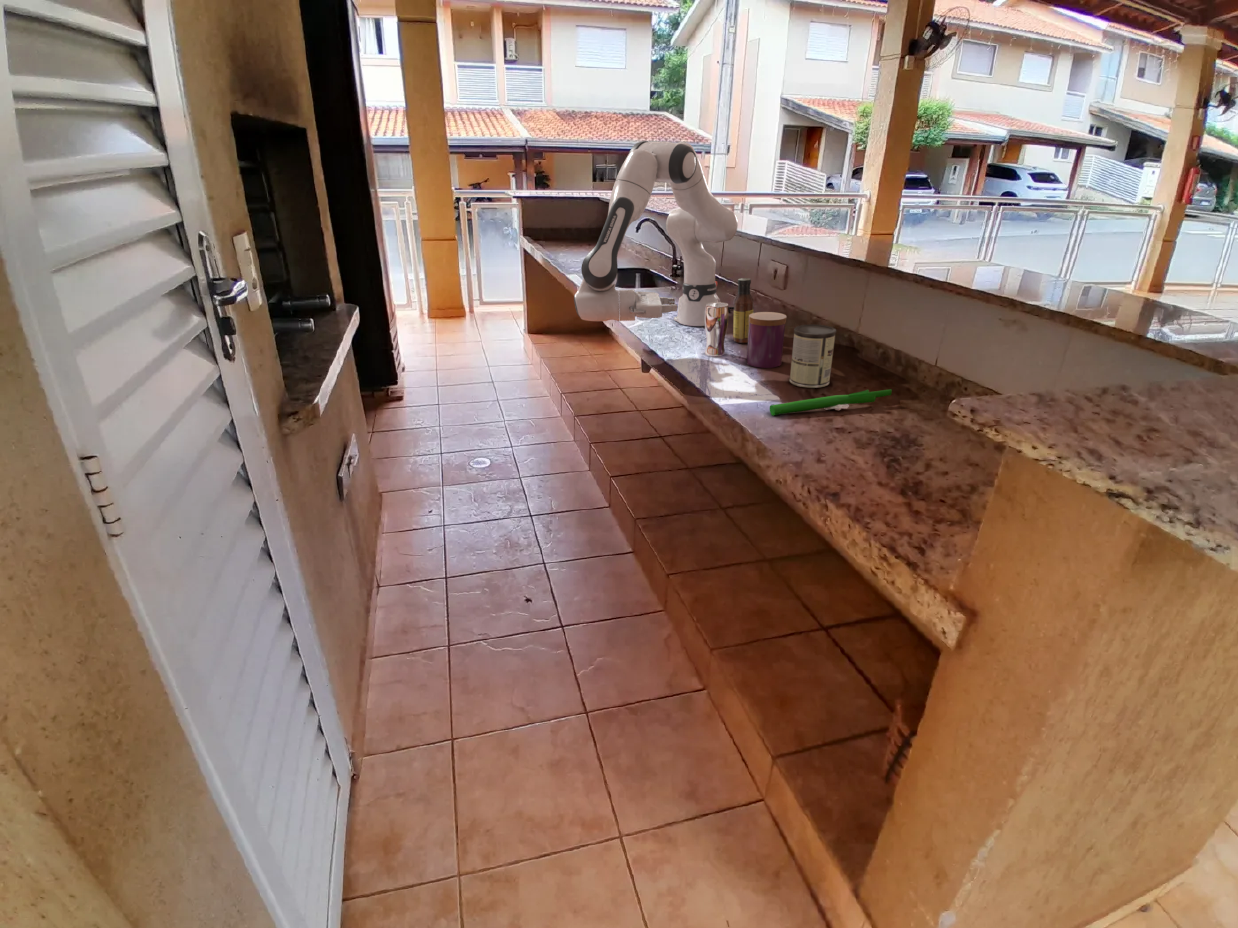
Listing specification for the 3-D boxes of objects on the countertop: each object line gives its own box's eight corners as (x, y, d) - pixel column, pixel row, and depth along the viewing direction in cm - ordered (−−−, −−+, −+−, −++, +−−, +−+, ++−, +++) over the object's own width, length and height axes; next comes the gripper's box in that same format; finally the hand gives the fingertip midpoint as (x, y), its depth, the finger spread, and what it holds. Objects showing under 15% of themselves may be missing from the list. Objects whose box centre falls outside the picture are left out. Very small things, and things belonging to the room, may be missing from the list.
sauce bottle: (751, 339, 203) (755, 277, 194) (753, 344, 197) (757, 280, 189) (731, 339, 204) (734, 277, 195) (732, 344, 198) (736, 280, 189)
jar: (750, 356, 185) (753, 311, 179) (785, 359, 181) (790, 313, 175) (741, 365, 177) (744, 318, 171) (777, 369, 173) (782, 321, 167)
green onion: (775, 421, 141) (895, 403, 145) (775, 408, 139) (897, 390, 143) (766, 414, 145) (883, 396, 149) (767, 401, 143) (885, 383, 148)
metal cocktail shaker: (701, 351, 191) (703, 302, 185) (723, 350, 192) (725, 301, 185) (706, 357, 185) (708, 307, 178) (728, 356, 185) (731, 306, 179)
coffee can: (790, 374, 168) (795, 323, 162) (830, 377, 165) (836, 325, 159) (787, 386, 160) (792, 332, 153) (828, 389, 157) (835, 335, 150)
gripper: (629, 301, 171) (679, 300, 171) (628, 288, 189) (673, 287, 189) (629, 324, 174) (678, 323, 174) (628, 309, 192) (673, 308, 192)
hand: (675, 304), depth 182 cm, fingers open, 8 cm apart
